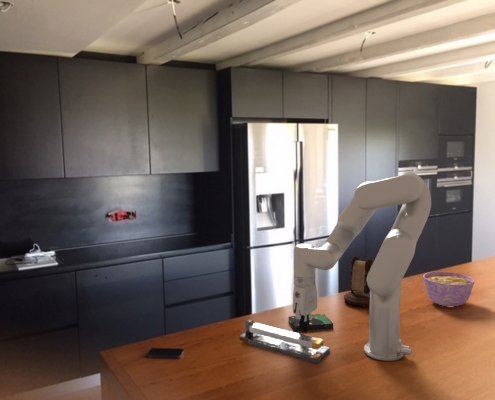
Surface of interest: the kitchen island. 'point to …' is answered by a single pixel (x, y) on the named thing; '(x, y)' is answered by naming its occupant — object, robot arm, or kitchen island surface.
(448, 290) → the bowl of food
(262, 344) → the label panel
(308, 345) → the swing bar
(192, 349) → the kitchen island surface
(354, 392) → the kitchen island surface
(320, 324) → the disk drive
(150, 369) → the kitchen island surface
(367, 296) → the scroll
